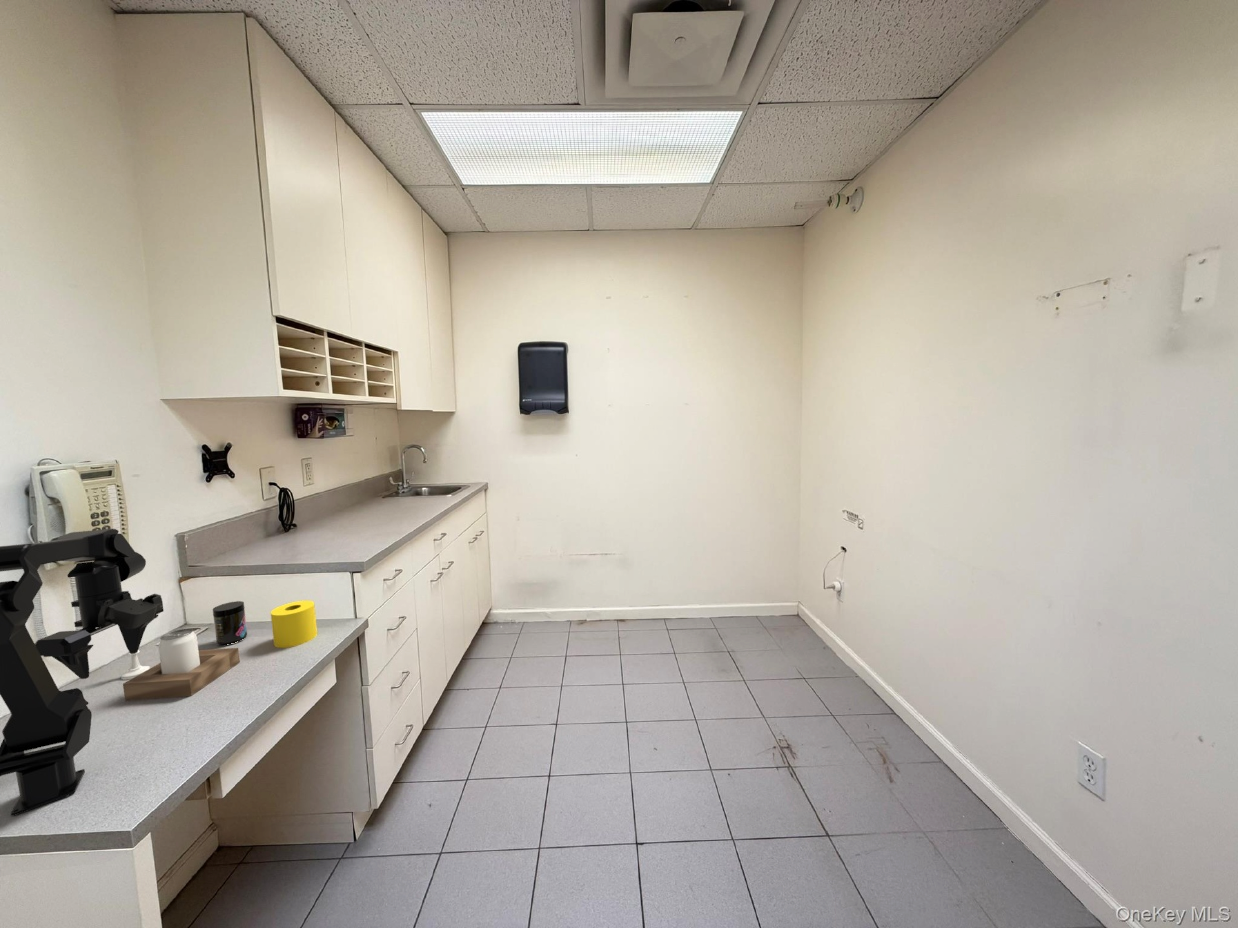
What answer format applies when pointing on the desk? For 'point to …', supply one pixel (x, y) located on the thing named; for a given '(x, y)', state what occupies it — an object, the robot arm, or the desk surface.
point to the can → (179, 651)
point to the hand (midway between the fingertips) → (110, 665)
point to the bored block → (181, 677)
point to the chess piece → (134, 668)
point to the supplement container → (230, 622)
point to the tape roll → (293, 624)
